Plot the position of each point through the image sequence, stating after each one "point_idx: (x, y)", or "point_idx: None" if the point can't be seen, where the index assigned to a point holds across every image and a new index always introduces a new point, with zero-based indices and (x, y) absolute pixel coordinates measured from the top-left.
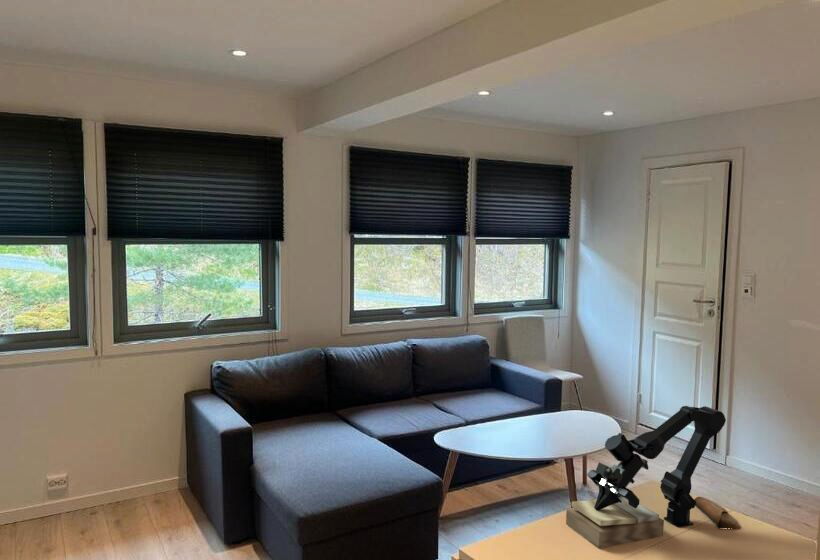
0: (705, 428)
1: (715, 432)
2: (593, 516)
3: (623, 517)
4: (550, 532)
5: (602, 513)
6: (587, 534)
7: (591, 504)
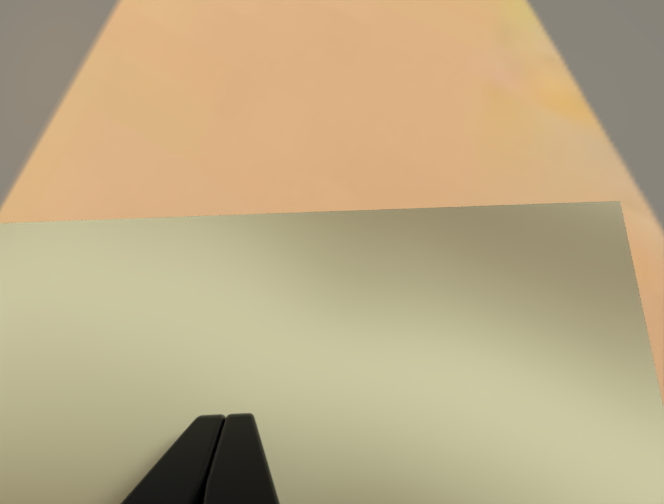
0: None
1: None
2: (32, 225)
3: None
4: (402, 85)
5: (70, 479)
6: None
7: None
